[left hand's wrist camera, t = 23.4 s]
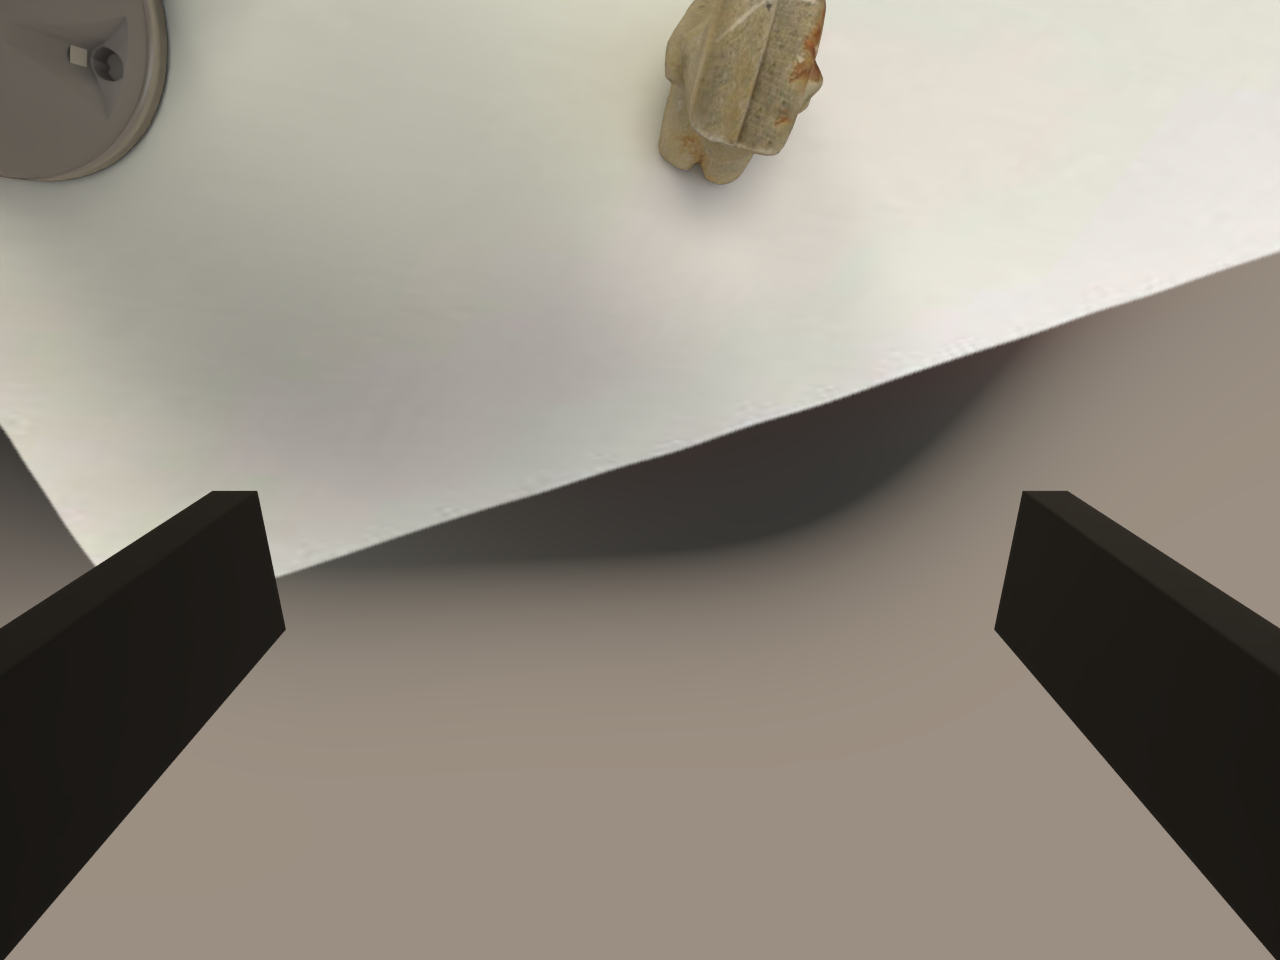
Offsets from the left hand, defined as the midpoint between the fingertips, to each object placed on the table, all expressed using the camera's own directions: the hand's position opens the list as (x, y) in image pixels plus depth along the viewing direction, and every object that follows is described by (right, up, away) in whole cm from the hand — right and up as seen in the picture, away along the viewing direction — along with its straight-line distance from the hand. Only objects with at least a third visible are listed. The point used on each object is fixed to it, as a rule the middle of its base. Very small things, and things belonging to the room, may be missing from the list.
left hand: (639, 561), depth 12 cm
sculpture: (+4, +20, +23) cm, 31 cm away
